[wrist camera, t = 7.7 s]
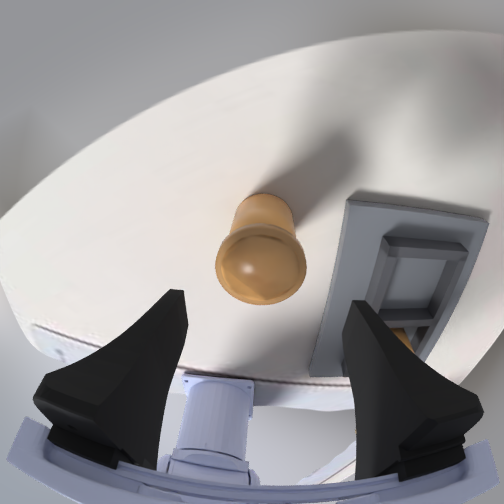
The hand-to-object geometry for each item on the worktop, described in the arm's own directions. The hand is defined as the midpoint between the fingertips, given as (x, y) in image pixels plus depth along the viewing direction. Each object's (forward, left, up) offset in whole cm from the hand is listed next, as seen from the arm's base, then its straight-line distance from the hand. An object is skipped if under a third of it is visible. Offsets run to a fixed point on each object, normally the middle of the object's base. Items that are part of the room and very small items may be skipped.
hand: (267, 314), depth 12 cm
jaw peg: (0, 0, -9) cm, 9 cm away
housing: (-7, -12, -9) cm, 16 cm away
